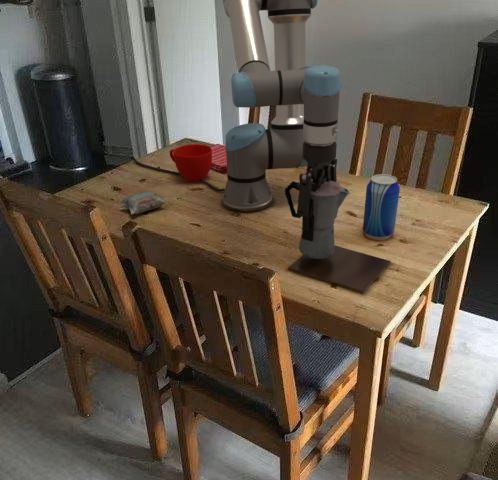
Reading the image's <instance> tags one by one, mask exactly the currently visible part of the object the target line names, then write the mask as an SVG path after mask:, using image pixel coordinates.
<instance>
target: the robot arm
mask: <svg viewBox="0 0 498 480" xmlns="http://www.w3.org/2000/svg"><path fill="white" fill-rule="evenodd" d="M222 3H223V9H224V13H225V15H226V16H227V17H228V18H229V23H230V30H231V36H232V42H233V49H234V50H233V51H234V55H235V62H236V69H237V72H235V73H233V74H232V75H231V78H230V80H231V81H230V83H231V96H232V97H231V98H232V103H233V105H234V106H235V107H236V108H249V109H254V108H262V107H263V108H264V107H275V110H276V111H275V116H274V118H273V119H272V120H271V122H270V123H271V127H270V128H266V127H265V125H264V124H262V123H259V122H258V123H255V122H249V123H243V124H240V125H237V126H234V127H232V128H231V129H229V130H228V131H227V133H226V134H225V145H224V146H225V150H226V159H227V172H226V176H227V178H226V179H227V180H226V184H225V187H224V188H218V187H215V186H213V184H211V183H210V182H207V181H206V180H205V179H204V180H201V179H200V180H199V182H201V183H203V184H205V185H207V186H209V187H210V188H211V189H213V190H214V191H217V192H223V194H222V205H223V206H224V207H225V209H228V210H229V211H230V210H231V211H233V212H237V213H253V212H259V211H263V210H265V209H267V208H269V207H270V206H271V205H272V203H273V195H272V194H273V189H270V187H269V184H268V180H267V177H266V171H267V170H268V171H269V170H279V169H280V170H281V169H299V168H304V167H306V171H305V173H300V174H299V175H298V180H299V182H300V187H299V191H298V198H297V208H296V213H297V215H298V216H301V218H302V219H301V222H302V224H301V227H302V228H301V229H302V230H301V235H302V239H305V240H308V241H313V235H314V215H312V213H313V200H312V199H310V196H311V191H313V192H315V191H316V190H317V189H318V188H320V187H321V182H322V178H323V177H324V176H326V177H327V178H326V181H327V182H329V181H330V180H331V181H334V182H337V179H338V178H337V165H338V159H337V148H338V147H337V145H338V144H337V142H336V141H337V140H338V133H339V129H338V122H339V106H340V90H341V89H342V88H341V87H342V85H341V71H340V69H338V68H337V67H335V66H331V65H315V66H314V65H309V64H308V65H306V62H307V60H306V59H307V58H306V56H307V55H306V23H307V21H308V20H309V19H310V17H311V16H312V10H313V9H315V8H316V7H317V5H318V0H223V1H222ZM260 11H267V18H268V20H269V21H270V22H271V23H272V24H273V40H274V41H273V42H274V43H273V44H274V46H273V47H274V70H271V67H270V61H269V55H268V50H267V47H266V40H265V35H264V31H263V26H262V20H261V15H260ZM130 160H131V161H134V162H135V164H138V165H139V166H141V167H145V168H147V169H151V170H156V171H160V172H164V173H170V174H173V175H178V176H181V174H180V173H179V172H178V171H173V170H168V169H163V168H161V167H155V166H151V165H148V164H145V163H142V162H139V161H138V160H137V159H136V157H135V156H131V158H130ZM312 182H313V183H317V184H312ZM337 183H338V182H337Z"/></svg>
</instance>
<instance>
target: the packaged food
mask: <svg viewBox="0 0 498 480" xmlns="http://www.w3.org/2000/svg"><path fill="white" fill-rule="evenodd" d="M167 202H168V201H167V200H166V199H163V198H161V197H159V196H158V195H157V194H156V193H155V192H152V191H148V190H146V191H142V192H139V193H135V194H130V195H128V196H126V197H124V198H122V201H121V202H120V205H119V206H120V208H121V209H122V208H124V209H127V210H129V212H130V215H131V216H132V215H134V214H135V215H140V214H142V213H146V212H149V211H152V210H155V209H157V208H160V207H162V206H163V205H165V204H167Z"/></svg>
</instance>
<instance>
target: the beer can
mask: <svg viewBox="0 0 498 480" xmlns="http://www.w3.org/2000/svg"><path fill="white" fill-rule="evenodd" d="M400 189H401V187H400V185H399V183H398V178H397V177H396V176H395V175H391V174H386V173H381V174H380V173H379V174H374V175H373V176H371V178H370V181H369V182H368V183H367V185H366V189H365V200H364V201H365V202H364V211H363V221H362V231H363V233H364V235H365V236H366V237H367V238H368V239H370V240H374V241H384V240H388V239H390V238H391V236H393V235H394V233H395V231H396V230H395V228H396V220H397V215H398V214H397V213H398V206H399V198H400Z"/></svg>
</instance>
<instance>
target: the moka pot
mask: <svg viewBox="0 0 498 480" xmlns="http://www.w3.org/2000/svg"><path fill="white" fill-rule="evenodd" d="M326 178H327V177H326V176H324V177H323V178H322V182H321V187H320V188H318V189H317V190H316V191H315V192H313V191H311V196H310V199H312V200H313V213H312V215H314V235H313V241H308V240H305V239H302V234H301V235H300V240H299V244H298V250H299V252H300V253H301V255H302V256H303V255H305V256H307V257H309V258H315V259H323V258H327V257H330V256H331V255H332V254H333V253H334V251H335V246H336V244H335V226H334V224H335V219H337V217H338V212H339V210H340V207H341V205H342V204H343V202H344V201H345V199H346V198H347V196H348V195H350V194H351V192H350V190H349V189H347V188H346V187H345V186H344V187H343V186H341V184H340V182H334V181H331V180H330V181H329V182H327V181H326ZM312 184H317V183H313V182H312ZM299 187H300V181H299V182H298V181H295V180H293V181H291V182H290V183H289V184H288V185H287V186H286V187H285V188H284V196H285V197H286V201H287V205H288V207H289V210H290V214H291V217H292V218H297V219H301V218H302V217H301V216H298V215H297V211H296V209H295V207H294V201H293V198H292V193H291V190H293V189H294V190H296V191H298V192H299Z"/></svg>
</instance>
